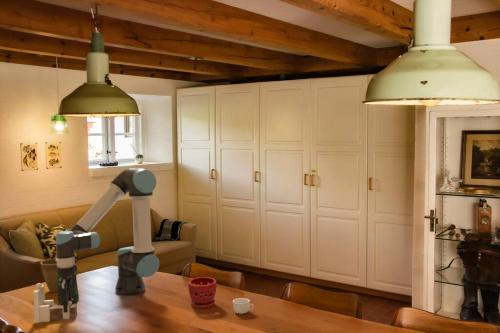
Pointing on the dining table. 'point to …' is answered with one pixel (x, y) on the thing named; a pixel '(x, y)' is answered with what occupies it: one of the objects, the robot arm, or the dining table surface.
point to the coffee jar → (74, 286)
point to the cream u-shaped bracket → (41, 304)
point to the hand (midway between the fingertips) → (67, 316)
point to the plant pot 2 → (202, 292)
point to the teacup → (241, 305)
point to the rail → (57, 312)
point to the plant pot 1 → (50, 274)
